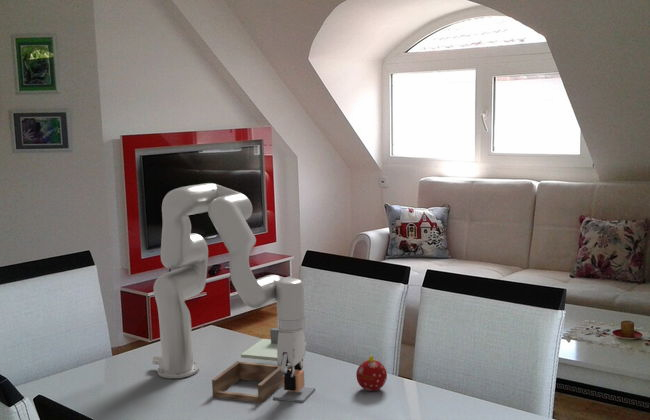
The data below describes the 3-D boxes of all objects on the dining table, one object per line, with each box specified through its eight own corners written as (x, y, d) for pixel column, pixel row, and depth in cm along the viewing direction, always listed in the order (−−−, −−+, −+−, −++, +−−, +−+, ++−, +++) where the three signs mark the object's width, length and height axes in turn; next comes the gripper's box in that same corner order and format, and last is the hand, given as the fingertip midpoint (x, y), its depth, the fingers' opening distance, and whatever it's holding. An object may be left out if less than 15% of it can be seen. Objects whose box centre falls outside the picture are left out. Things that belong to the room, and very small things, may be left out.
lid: (241, 357, 217) (240, 340, 216) (262, 341, 231) (261, 325, 231) (287, 362, 212) (286, 344, 211) (306, 345, 226) (306, 328, 225)
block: (283, 389, 199) (282, 374, 199) (289, 384, 203) (289, 368, 203) (298, 391, 198) (297, 376, 197) (304, 385, 202) (303, 370, 201)
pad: (273, 399, 198) (273, 396, 198) (286, 386, 207) (286, 384, 206) (303, 402, 195) (303, 400, 195) (315, 390, 203) (315, 388, 203)
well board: (212, 396, 201) (211, 379, 201) (238, 377, 215) (237, 361, 215) (262, 402, 196) (261, 385, 195) (284, 382, 210) (284, 365, 209)
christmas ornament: (350, 391, 201) (349, 357, 200) (367, 381, 208) (366, 348, 207) (376, 398, 196) (375, 363, 195) (392, 388, 203) (392, 354, 202)
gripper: (290, 314, 207) (293, 374, 210) (266, 331, 191) (269, 396, 194) (314, 315, 204) (317, 376, 207) (291, 333, 189) (294, 399, 191)
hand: (293, 385), depth 200 cm, fingers closed on block, 4 cm apart
